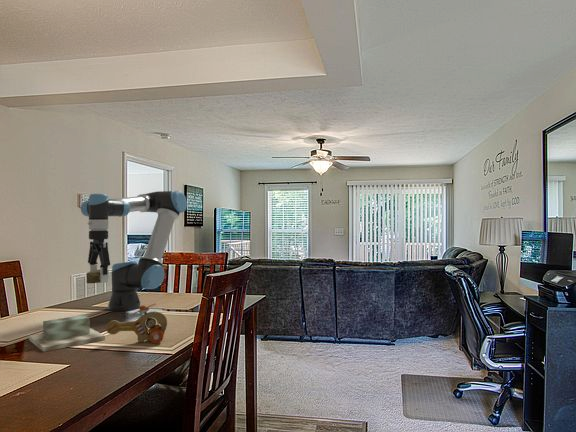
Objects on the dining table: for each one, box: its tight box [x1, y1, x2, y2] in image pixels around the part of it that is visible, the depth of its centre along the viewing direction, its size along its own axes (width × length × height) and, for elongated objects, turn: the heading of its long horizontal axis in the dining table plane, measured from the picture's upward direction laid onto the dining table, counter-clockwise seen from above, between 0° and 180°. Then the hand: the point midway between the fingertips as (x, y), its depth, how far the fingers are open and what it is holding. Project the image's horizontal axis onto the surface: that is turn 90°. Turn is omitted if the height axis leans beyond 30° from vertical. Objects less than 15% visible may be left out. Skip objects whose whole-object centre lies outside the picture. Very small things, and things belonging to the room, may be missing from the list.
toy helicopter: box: [105, 303, 168, 345], centre depth 149 cm, size 8×21×14 cm, turn 102°
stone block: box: [86, 269, 109, 284], centre depth 175 cm, size 6×12×5 cm, turn 6°
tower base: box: [28, 314, 106, 353], centre depth 152 cm, size 20×20×8 cm
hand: (98, 281), depth 176 cm, fingers closed on stone block, 12 cm apart
